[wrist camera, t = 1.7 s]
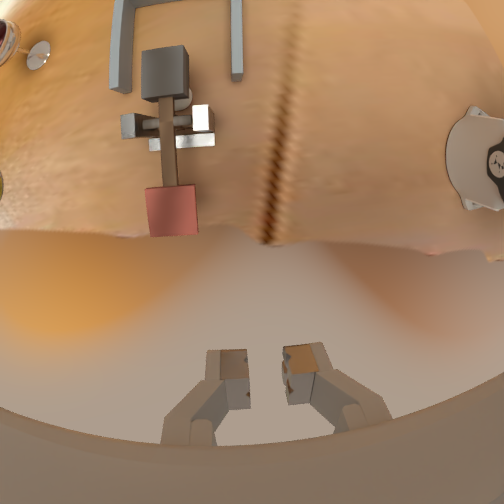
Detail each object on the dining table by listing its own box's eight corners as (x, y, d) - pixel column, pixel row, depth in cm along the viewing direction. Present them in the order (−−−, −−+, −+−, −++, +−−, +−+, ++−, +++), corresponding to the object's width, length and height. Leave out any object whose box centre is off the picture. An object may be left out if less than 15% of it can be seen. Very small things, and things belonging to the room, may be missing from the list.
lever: (198, 67, 30) (188, 44, 21) (204, 211, 37) (196, 237, 28) (159, 71, 29) (136, 52, 20) (167, 214, 37) (148, 240, 28)
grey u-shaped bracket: (239, -10, 26) (241, -27, 21) (241, 81, 32) (243, 73, 27) (128, 3, 25) (116, -10, 20) (123, 93, 31) (109, 88, 26)
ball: (193, 84, 31) (190, 79, 28) (194, 110, 33) (190, 108, 29) (166, 87, 31) (160, 83, 28) (167, 113, 32) (161, 111, 29)
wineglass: (58, 59, 27) (9, 44, 16) (26, 83, 27) (-25, 78, 16) (51, 27, 24) (7, 8, 13) (20, 52, 24) (-27, 41, 13)
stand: (213, 113, 33) (207, 104, 23) (214, 145, 35) (209, 148, 25) (149, 119, 32) (120, 115, 23) (150, 150, 34) (123, 157, 25)
